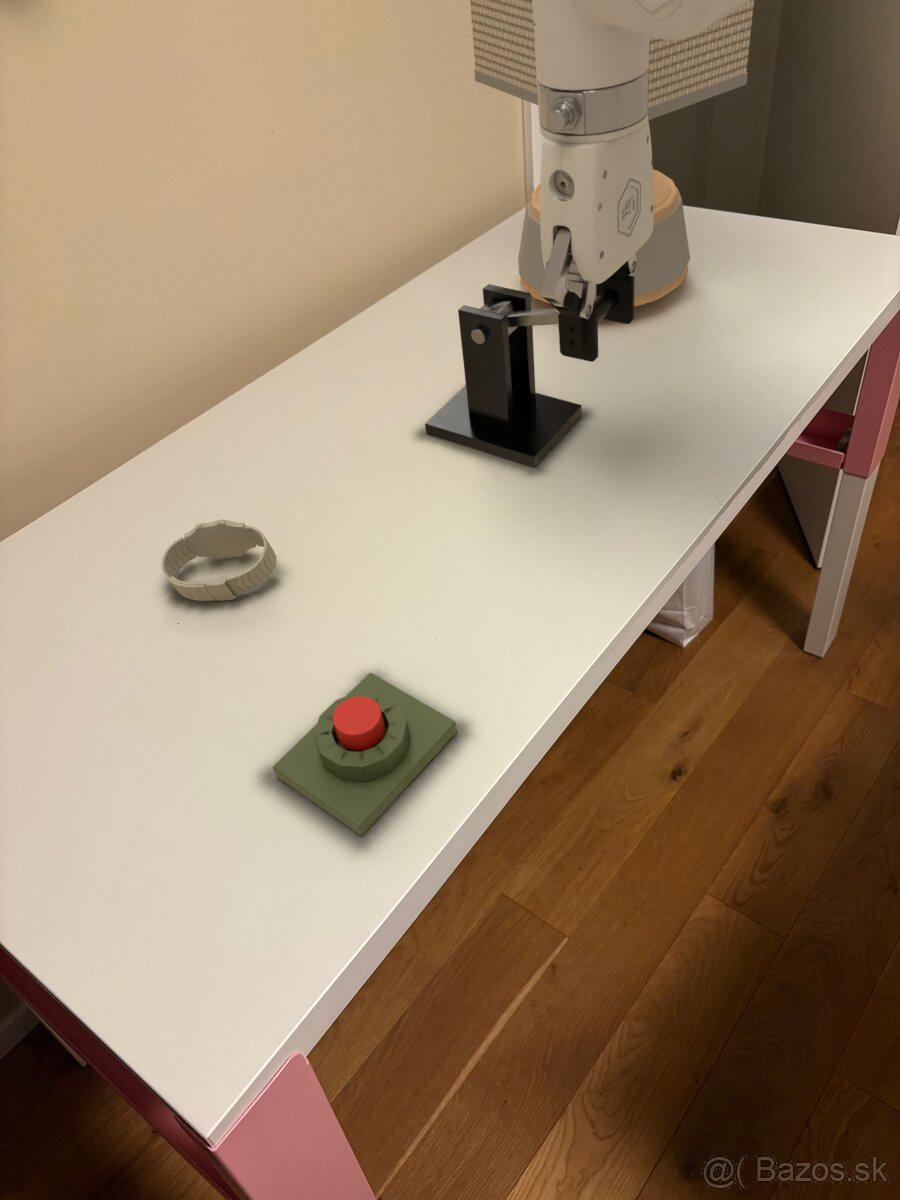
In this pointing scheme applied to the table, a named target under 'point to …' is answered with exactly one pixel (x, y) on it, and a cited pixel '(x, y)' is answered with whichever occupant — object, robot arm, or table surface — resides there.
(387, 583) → the table surface
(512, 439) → the bracket
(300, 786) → the button box
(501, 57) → the desk lamp
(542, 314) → the lever
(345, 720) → the button
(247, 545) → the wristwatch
